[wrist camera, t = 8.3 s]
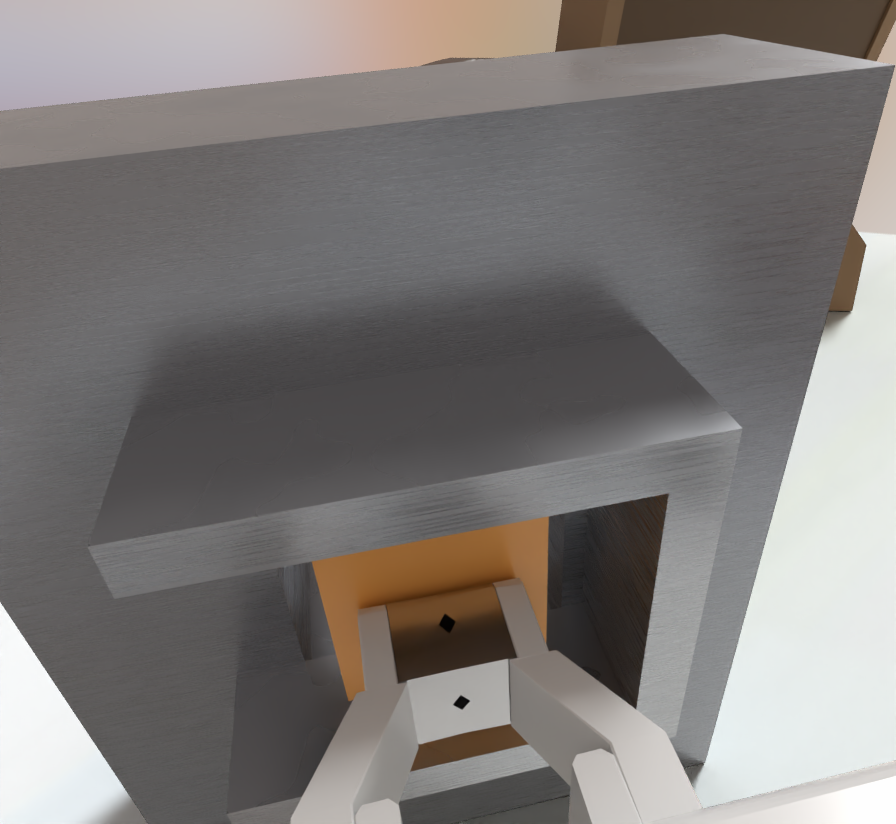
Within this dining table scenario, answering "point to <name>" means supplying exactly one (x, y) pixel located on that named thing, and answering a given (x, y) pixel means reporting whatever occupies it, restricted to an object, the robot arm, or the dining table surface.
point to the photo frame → (749, 16)
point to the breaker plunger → (428, 579)
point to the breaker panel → (382, 289)
